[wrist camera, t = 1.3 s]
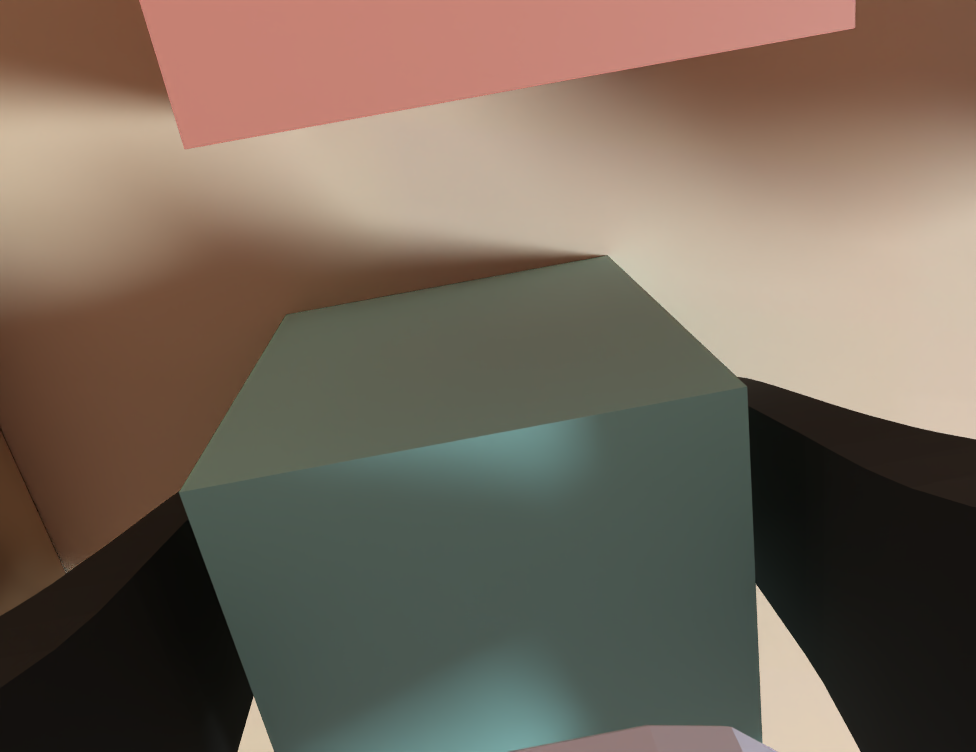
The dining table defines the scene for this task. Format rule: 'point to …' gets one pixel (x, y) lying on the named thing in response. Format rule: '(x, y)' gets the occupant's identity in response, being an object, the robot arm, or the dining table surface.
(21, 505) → the walnut base plate
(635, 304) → the teal block
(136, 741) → the robot arm
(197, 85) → the brick block
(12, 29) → the dining table surface
